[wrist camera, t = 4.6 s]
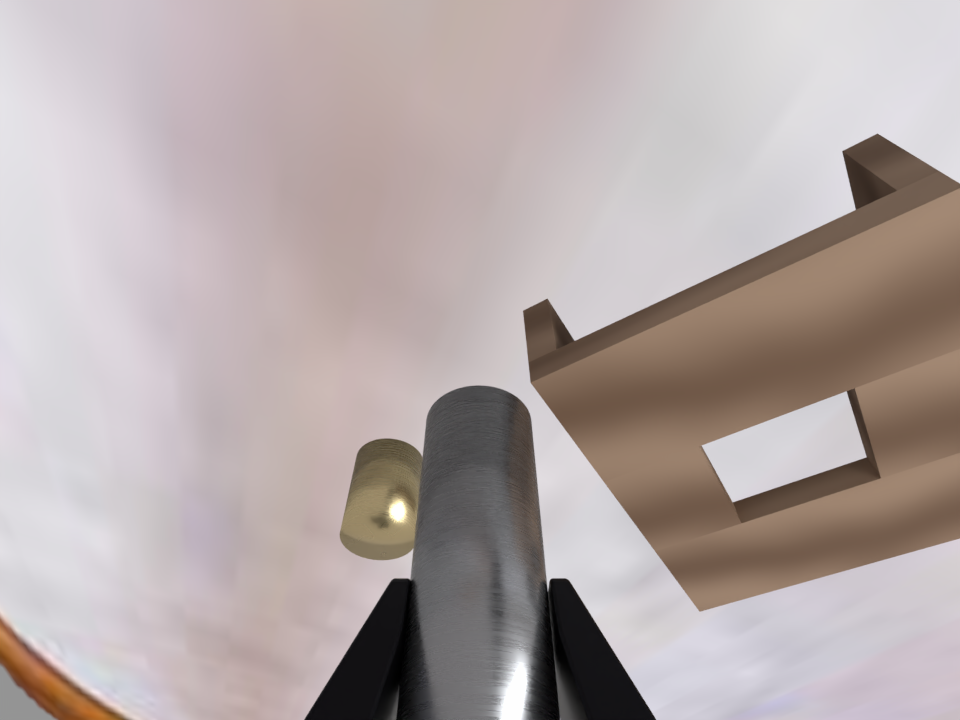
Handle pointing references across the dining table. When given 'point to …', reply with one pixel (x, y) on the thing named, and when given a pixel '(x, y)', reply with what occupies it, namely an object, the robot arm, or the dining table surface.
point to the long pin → (478, 569)
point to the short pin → (382, 500)
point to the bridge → (784, 390)
